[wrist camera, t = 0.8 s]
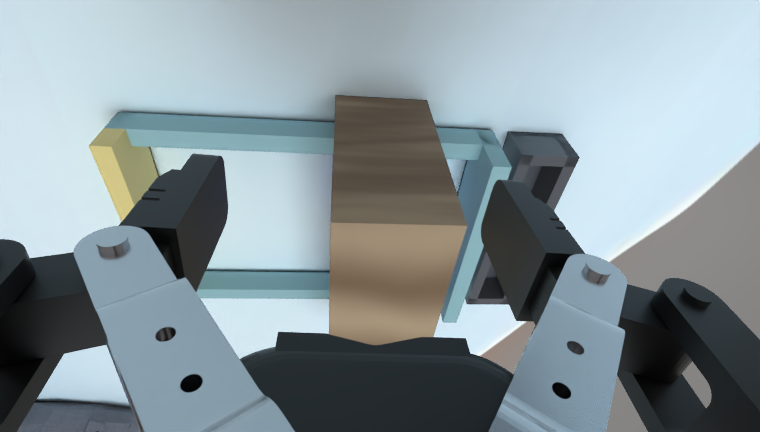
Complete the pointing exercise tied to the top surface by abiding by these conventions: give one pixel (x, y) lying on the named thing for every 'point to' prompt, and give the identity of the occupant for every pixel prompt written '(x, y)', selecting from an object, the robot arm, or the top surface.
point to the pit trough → (545, 181)
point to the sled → (140, 131)
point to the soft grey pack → (78, 418)
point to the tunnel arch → (390, 221)
